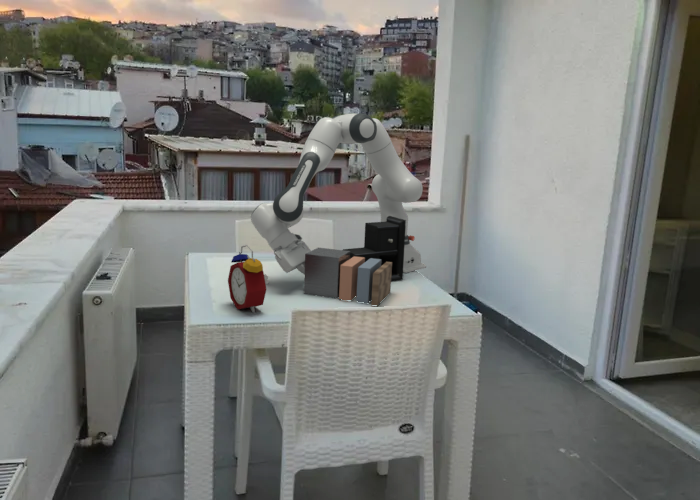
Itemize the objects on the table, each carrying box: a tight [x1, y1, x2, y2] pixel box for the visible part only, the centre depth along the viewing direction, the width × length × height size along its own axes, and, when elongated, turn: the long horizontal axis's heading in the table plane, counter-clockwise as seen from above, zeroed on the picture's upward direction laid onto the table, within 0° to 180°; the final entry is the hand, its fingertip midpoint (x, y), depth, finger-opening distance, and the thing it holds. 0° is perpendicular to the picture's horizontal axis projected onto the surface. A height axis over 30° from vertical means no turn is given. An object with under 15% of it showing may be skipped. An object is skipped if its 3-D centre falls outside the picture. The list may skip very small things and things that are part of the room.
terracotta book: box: [338, 256, 365, 301], centre depth 193 cm, size 15×4×12 cm, turn 162°
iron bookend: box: [303, 247, 350, 299], centre depth 195 cm, size 12×12×14 cm
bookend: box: [342, 216, 406, 282], centre depth 213 cm, size 23×11×24 cm, turn 120°
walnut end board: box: [370, 262, 392, 306], centre depth 190 cm, size 18×2×11 cm, turn 162°
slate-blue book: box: [355, 258, 382, 304], centre depth 191 cm, size 15×4×12 cm, turn 162°
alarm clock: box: [227, 244, 270, 314], centre depth 174 cm, size 15×9×20 cm, turn 35°
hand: (309, 274), depth 198 cm, fingers closed, pressing on iron bookend
